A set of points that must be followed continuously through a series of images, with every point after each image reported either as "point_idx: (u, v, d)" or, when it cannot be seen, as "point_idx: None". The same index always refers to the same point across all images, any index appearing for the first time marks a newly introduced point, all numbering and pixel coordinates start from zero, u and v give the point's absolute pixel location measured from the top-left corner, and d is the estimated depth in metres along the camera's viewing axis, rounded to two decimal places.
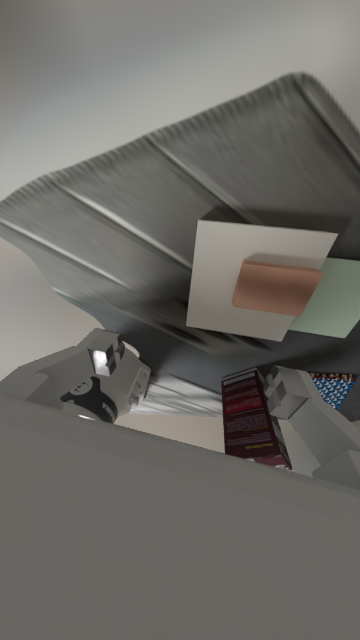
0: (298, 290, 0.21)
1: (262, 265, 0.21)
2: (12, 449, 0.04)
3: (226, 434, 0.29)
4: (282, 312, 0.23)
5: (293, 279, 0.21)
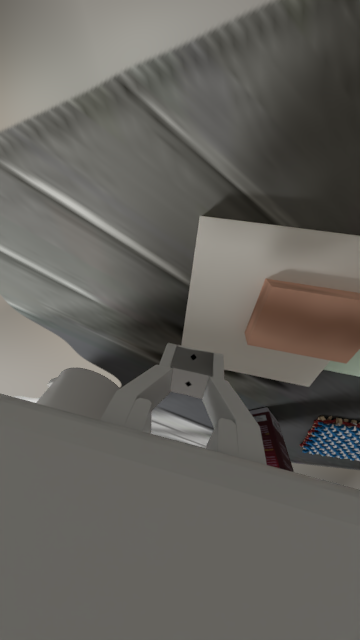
0: (350, 328, 0.14)
1: (298, 289, 0.13)
2: (12, 449, 0.04)
3: None
4: (320, 356, 0.16)
5: (345, 313, 0.13)
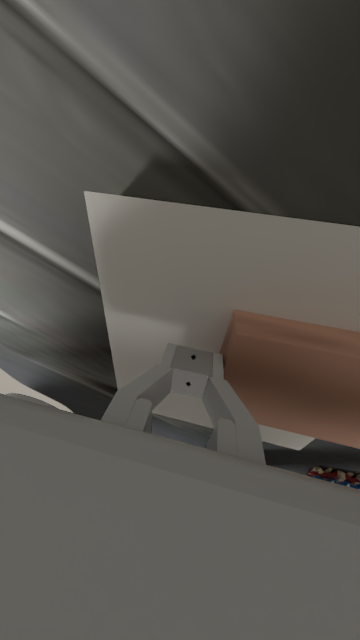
0: None
1: (290, 339, 0.07)
2: (12, 449, 0.04)
3: None
4: (328, 438, 0.09)
5: None
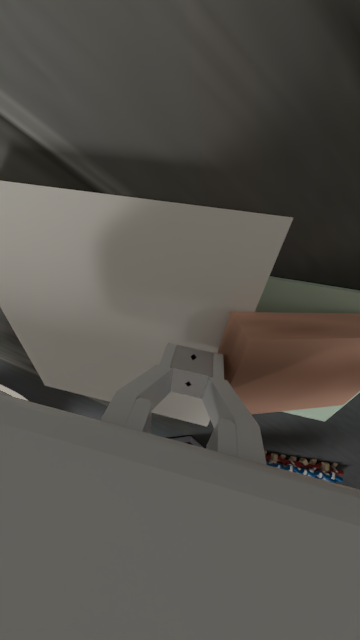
0: (358, 372, 0.09)
1: (292, 333, 0.07)
2: (12, 449, 0.04)
3: None
4: (314, 405, 0.11)
5: (357, 356, 0.08)
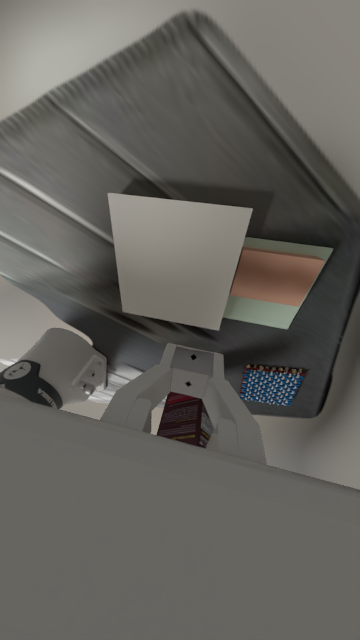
0: (297, 278, 0.21)
1: (261, 251, 0.20)
2: (12, 449, 0.04)
3: (161, 424, 0.28)
4: (280, 301, 0.22)
5: (292, 267, 0.20)
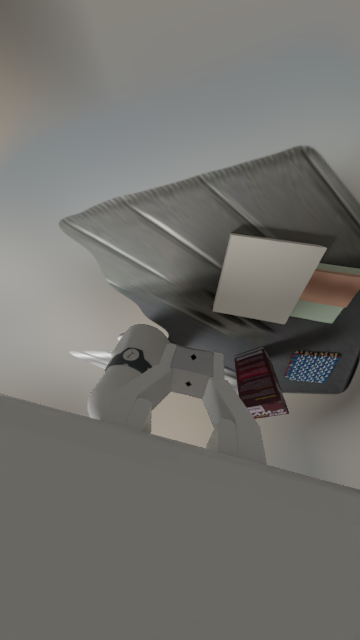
0: (347, 289, 0.32)
1: (325, 272, 0.31)
2: (12, 449, 0.04)
3: (240, 393, 0.39)
4: (333, 304, 0.34)
5: (345, 282, 0.31)
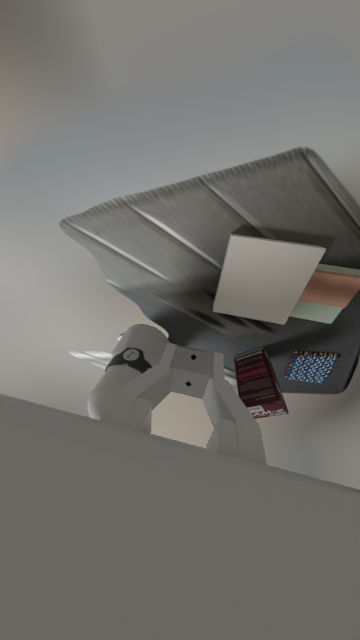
0: (347, 290, 0.32)
1: (324, 272, 0.32)
2: (12, 449, 0.04)
3: (240, 393, 0.39)
4: (332, 304, 0.34)
5: (344, 283, 0.32)
